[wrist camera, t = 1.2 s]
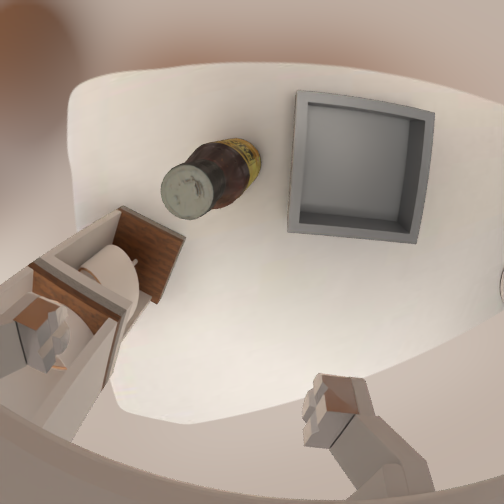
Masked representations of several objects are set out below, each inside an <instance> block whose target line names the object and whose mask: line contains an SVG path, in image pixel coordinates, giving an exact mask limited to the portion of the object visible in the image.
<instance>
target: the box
mask: <svg viewBox="0 0 504 504" xmlns="http://www.w3.org/2000/svg"><path fill="white" fill-rule="evenodd" d="M434 120H435V113H434V112H430V111H425V110H421V109H417V108H412V107H408V106H403V105H398V104H394V103H388V102H383V101H378V100H372V99H366V98H360V97H353V96H346V95H338V94H330V93H322V92H312V91H301V90H297V92H296V97H295V115H294V132H293V148H292V163H291V178H290V191H289V204H288V217H287V232H290V233H302V234H314V235H325V236H336V237H347V238H358V239H369V240H379V241H390V242H400V243H409V244H416V243H417V238H418V234H419V229H420V224H421V219H422V213H423V208H424V202H425V196H426V190H427V183H428V176H429V169H430V161H431V153H432V143H433V133H434Z"/></svg>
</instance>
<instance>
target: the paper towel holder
mask: <svg viewBox="0 0 504 504" xmlns="http://www.w3.org/2000/svg"><path fill="white" fill-rule="evenodd" d="M185 239H186V237H184V236H182V235H180V234H178V233H176V232H174V231H172V230H170V229H168V228H166V227H164V226H162V225H160V224H158V223H156V222H154V221H152V220H150V219H148V218H146V217H145V216H143V215H141V214H139V213H137V212H135V211H133V210H131V209H129V208H127V207H125V206H122V207H120V208H118V209H116V210H115V211H113V212H111V213H109V214H108V215H106V216H104V217H103V218H101V219H99V220H98V221H96V222H94V223H93V224H91V225H89V226H88V227H86V228H84V229H83V230H81V231H79V232H78V233H76V234H75V235H73V236H71V237H70V238H68V239H67V240H65V241H64V242H62V243H60V244H59V245H57V246H56V247H55V248H53V249H51V250H50V251H48V252H47V253H45V254H44V255H42V256H41V257H39V258H38V259H36V260H35V261H33V262H32V263H30V264H29V265H28V266H26V267H25V268H23V269H22V270H21V271H19V272H18V273H16V274H15V275H13V276H12V277H11V278H9V279H8V280H7V281H5V282H4V283H2V284H1V285H0V314H1V315H2V314H3V313H4V312H5V311H6V310H8V309H9V308H10V307H11V306H12V305H13V304H15V303H16V302H17V301H18V300H19V299H20V298H22V297H23V296H24V295H25V294H26V293H28V292H33V293H35V294H37V295H40V296H43V297H45V298H47V299H50V300H52V301H54V302H57V303H59V304H61V305H64V306H65V307H66V308H67V312H68V317H67V319H66V320H65V321H66V323H67V324H68V326H69V328H70V340H69V343H68V345H67V348H66V349H65V350H64V352H63V353H61V354H59V355H56V362H55V363H54V365H53V366H52V367H51V368H50V370H49V371H48V372H47V374H46V373H44V372H41V371H39V370H37V369H35V368H33V367H31V366H29V365H27V366H26V367H24V368H22V369H20V370H18V371H16V372H13V373H11V374H9V375H7V376H5V377H3V378H1V379H0V404H2V405H3V406H5V407H6V408H8V409H10V410H11V411H13V412H15V413H16V414H18V415H20V416H21V417H23V418H25V419H27V420H28V421H30V422H32V423H34V424H35V425H37V426H39V427H41V428H43V429H45V430H47V431H49V432H51V433H53V434H55V435H57V436H59V437H61V438H63V439H65V440H67V441H69V442H72V440H73V438H74V437H75V435H76V433H77V431H78V430H79V428H80V426H81V425H82V423H83V421H84V419H85V418H86V416H87V414H88V412H89V411H90V409H91V407H92V406H93V404H94V403H95V401H96V399H97V398H98V396H99V394H100V393H101V391H102V389H103V388H104V386H105V385H106V383H107V381H108V380H109V378H110V377H111V375H112V373H113V371H114V367H115V363H116V359H117V355H118V352H119V348H120V344H121V342H122V341H123V339H124V338H125V337H126V335H127V334H128V332H129V331H130V329H131V328H132V326H133V325H134V324H135V322H136V321H137V319H138V318H139V316H140V315H141V314H142V312H143V311H144V309H145V308H146V306H147V305H148V304H149V302H150V301H152V302H153V303H155V304H158V302H159V301H160V299H161V298H162V295H163V293H164V290H165V288H166V285H167V283H168V280H169V278H170V275H171V273H172V270H173V268H174V265H175V263H176V260H177V258H178V255H179V253H180V251H181V248H182V246H183V243H184V241H185Z"/></svg>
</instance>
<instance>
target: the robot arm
mask: <svg viewBox="0 0 504 504" xmlns="http://www.w3.org/2000/svg"><path fill="white" fill-rule="evenodd" d="M500 291H501V297H502V300H503V302H504V271H503V274H502V279H501V286H500ZM67 317H68V312H67V308H66V307H65V306H64V305H61V304H59V303H57V302H54V301H52V300H50V299H47V298H45V297H43V296H40V295H37V294H35V293H33V292H28V293H26V294H25V295H24V296H23V297H22V298H20V299H19V300H18V301H17V302H16V303H15V304H13V305H12V306H11V307H10V308H9V309H8V310H6V311H5V312H4V313H3V314H2V315H1V314H0V379H1V378H3V377H5V376H7V375H9V374H11V373H13V372H16V371H18V370H20V369H22V368H24V367H26V366H27V365H29V366H31V367H33V368H35V369H37V370H39V371H41V372H44V373H46V374H47V372H48V371H49V370H50V368H51V367H52V366H53V365H54V363H55V362H56V355H59V354H61V353H63V352H64V350H65V349H66V348H67V345H68V343H69V340H70V328H69V326H68V324H67V323H66V321H65V320H66V319H67ZM313 386H314V388H313V389H311V390H309V391H308V392H307V395H306V397H305V399H304V403H303V408H302V418H303V420H304V421H305V422H306V423H307V424H306V425H305V427H304V429H303V437H304V446H308V447H316V448H326V449H330V452H331V453H332V455H333V456H334V458H335V459H336V461H337V462H338V463H339V465H340V466H341V468H342V469H343V471H344V472H345V474H346V475H347V476H348V478H349V479H350V481H351V482H352V484H353V485H354V486H355V488H356V489H357V491H356V492H355V493H353V494H352V495H351V496H350V497H349V498H347V499H346V500H303V499H287V498H276V497H265V496H257V495H249V494H242V493H236V492H230V491H224V490H219V489H214V488H209V487H204V486H199V485H195V484H191V483H186V482H182V481H178V480H175V479H171V478H167V477H163V476H160V475H156V474H153V473H150V472H147V471H143V470H140V469H137V468H134V467H131V466H128V465H126V464H123V463H120V462H117V461H114V460H112V459H109V458H106V457H104V456H101V455H99V454H97V453H94V452H91V451H89V450H87V449H84V448H82V447H80V446H78V445H76V444H73V443H71V442H69V441H67V440H65V439H63V438H61V437H59V436H57V435H55V434H53V433H51V432H49V431H47V430H45V429H43V428H41V427H39V426H37V425H35V424H34V423H32V422H30V421H28V420H27V419H25V418H23V417H21V416H20V415H18V414H16V413H15V412H13V411H11V410H10V409H8V408H6V407H5V406H3V405H2V404H0V504H504V475H501V476H497V477H494V478H491V479H487V480H484V481H480V482H476V483H473V484H468V485H464V486H460V487H455V488H451V489H446V490H441V491H435V489H434V485H433V482H432V478H431V475H430V472H429V468H428V465H427V462H426V460H425V459H424V458H422V456H421V455H419V454H418V453H417V452H416V451H415V450H414V449H413V448H412V447H411V446H410V445H409V444H408V443H407V442H406V441H405V440H404V439H403V438H402V437H401V436H400V435H399V434H397V433H396V432H395V431H394V430H393V429H392V428H391V427H390V426H389V425H388V424H387V423H386V422H385V421H384V420H383V419H382V418H381V417H380V416H375V413H374V409H373V405H372V402H371V398H370V395H369V391H368V388H367V385H366V381H365V380H364V379H363V378H356V377H345V376H337V375H330V374H323V373H318V374H317V375H316V377H315V379H314V381H313Z"/></svg>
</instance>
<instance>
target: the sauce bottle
mask: <svg viewBox="0 0 504 504" xmlns="http://www.w3.org/2000/svg"><path fill="white" fill-rule="evenodd" d="M260 168H261V160H260V156H259V153H258V150H257V149H256V148H255V147H254V146H253V145H252V144H251V143H249V142H247V141H245V140H242V139H237V138H234V139H227V140H221V141H216V142H210V143H206V144H203V145H201V146H200V147H198V148H197V149H196V150H195V151H194V152H193V153H192V155H191V156H190V157H189V158H188V159H187V161H186V162H185V163H182V164H180V165H178V166H176V167H174V168H172V169H171V170H170V171H169V172H168V173H167V174H166V176H165V177H164V179H163V182H162V184H161V197H162V200H163V203H164V204H165V207H166V208H167V209H168V210H169V212H171V213H172V214H173V215H175V216H176V217H178V218H182V219H188V220H192V219H197V218H199V217H201V216H203V215H204V214H206V213H207V212H208V211H210V210H211V209H218V208H223V207H225V206H228V205H230V204H231V203H233V202H234V201H235V200H236V199H237V198H239V197H240V196H241V195H242V194H243V193H244V191H245V190H246V189H247V188H248V187H249V186H250V184H251V183H252V182H253V181H254V180H255V179H256V177H257V176H258V174H259V171H260Z"/></svg>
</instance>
